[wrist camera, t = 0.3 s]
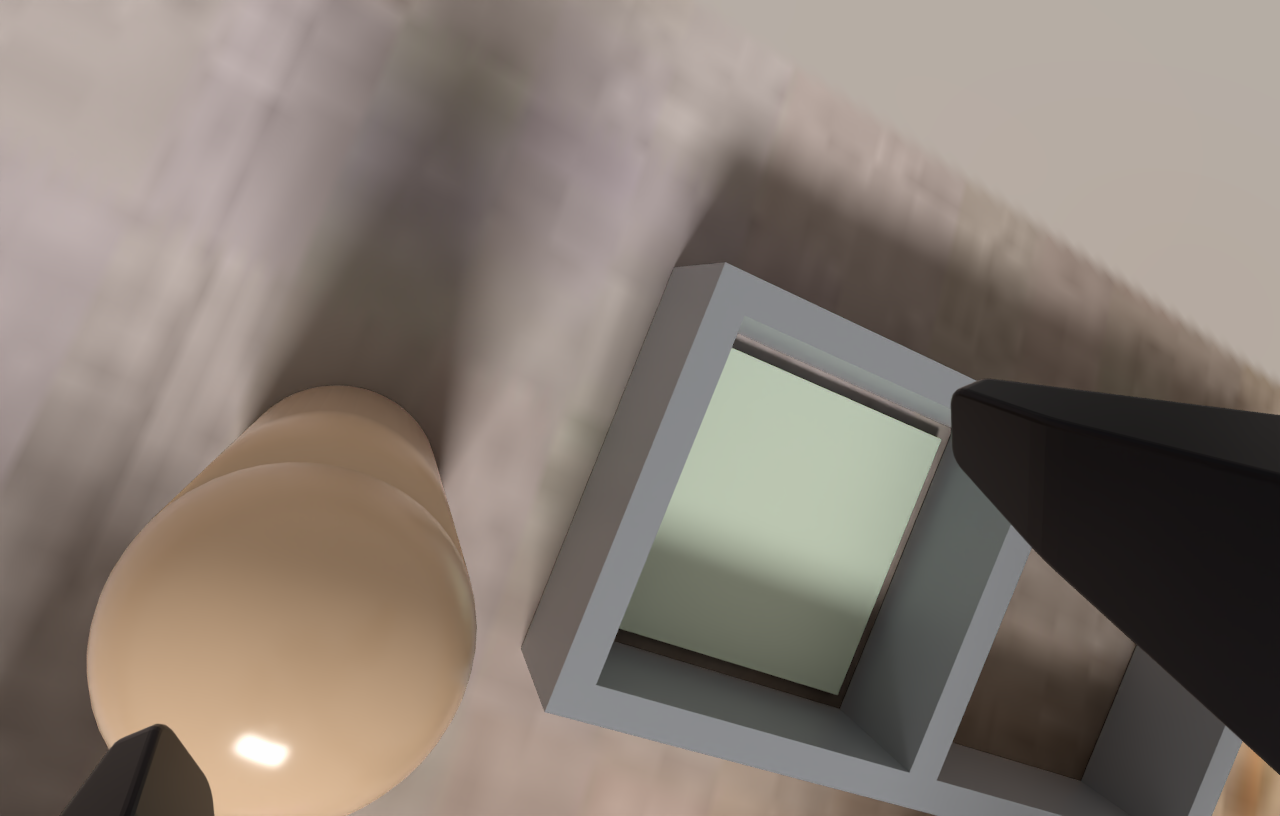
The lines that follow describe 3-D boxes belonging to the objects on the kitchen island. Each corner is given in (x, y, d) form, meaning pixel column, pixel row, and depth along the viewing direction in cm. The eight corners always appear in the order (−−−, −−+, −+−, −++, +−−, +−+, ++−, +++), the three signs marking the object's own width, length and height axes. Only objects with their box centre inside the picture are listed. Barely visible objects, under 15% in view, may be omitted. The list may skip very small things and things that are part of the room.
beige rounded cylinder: (396, 598, 24) (406, 956, 11) (202, 541, 22) (-55, 881, 9) (465, 424, 24) (557, 579, 11) (275, 355, 22) (119, 440, 9)
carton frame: (1090, 811, 32) (1184, 880, 28) (521, 648, 25) (544, 711, 21) (1212, 515, 32) (1323, 544, 28) (674, 267, 25) (725, 262, 21)
